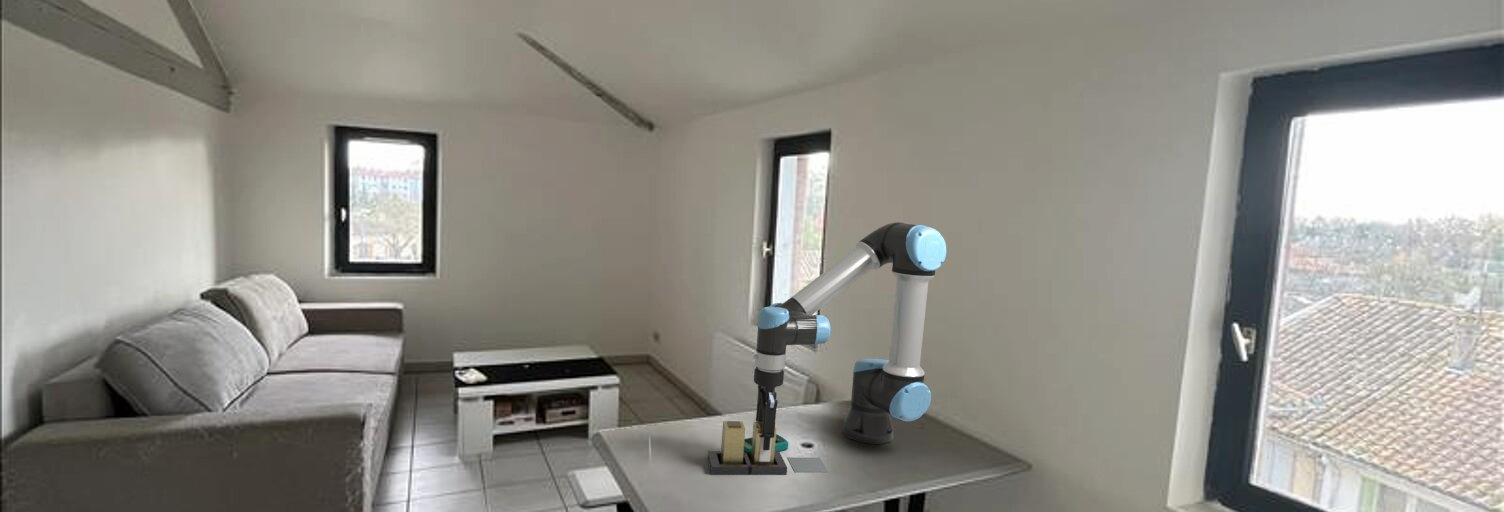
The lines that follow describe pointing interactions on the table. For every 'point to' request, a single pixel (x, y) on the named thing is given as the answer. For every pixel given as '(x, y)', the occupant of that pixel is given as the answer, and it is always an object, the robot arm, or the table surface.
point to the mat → (807, 465)
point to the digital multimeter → (779, 444)
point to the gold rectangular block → (732, 443)
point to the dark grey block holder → (746, 465)
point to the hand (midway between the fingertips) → (762, 456)
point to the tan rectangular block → (756, 445)
